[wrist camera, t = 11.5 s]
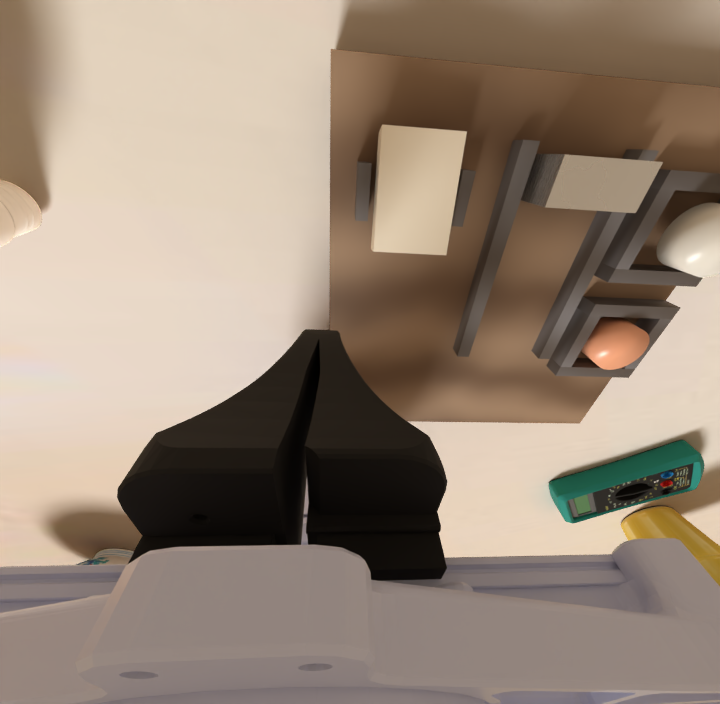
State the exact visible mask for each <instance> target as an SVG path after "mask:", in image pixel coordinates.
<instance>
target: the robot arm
mask: <svg viewBox="0 0 720 704" xmlns="http://www.w3.org/2000/svg"><path fill="white" fill-rule="evenodd" d="M446 486H447V479H446V475H445V471H444V468H443V465H442V463H441V460H440V458H439V456H438V454H437V451H436V449H435V447H434V445H433V443H432V441H431V439H430V437H429V436H428V435H427V434H425V433H423V432H422V431H420V430H419V429H417V428H416V427H414V426H413V425H411V424H410V423H408V422H407V421H406V420H404V419H403V418H402V417H400V416H399V415H398V414H397V413H395V412H394V411H393V410H392V409H391V408H390V407H388V406H387V405H386V404H385V403H384V402H383V401H382V400H381V399H380V398H379V397H378V396H377V395H376V394H375V393H374V392H373V390H372V389H371V388H370V387H369V386H368V385H367V383H366V382H365V381H364V380H363V378H362V377H361V375H360V374H359V373H358V371H357V369H356V368H355V366H354V365H353V363H352V361H351V360H350V358H349V356H348V354H347V352H346V350H345V348H344V345H343V343H342V340H341V337H340V333H339V332H338V331H336V330H304V331H303V332H302V334H301V335H300V336H299V337H298V339H297V340H296V341H295V342H294V344H293V345H292V346H291V347H290V348H289V349H288V350H287V352H286V353H285V354H284V355H283V356H282V357H281V358H280V359H279V360H278V361H277V362H276V363H275V364H274V365H273V366H272V367H271V368H270V369H269V370H268V371H266V372H265V373H264V374H263V375H262V376H261V377H259V378H258V379H257V380H256V381H254V382H253V383H252V384H250V385H249V386H247V387H246V388H244V389H243V390H241V391H240V392H238V393H237V394H235V395H233V396H232V397H230V398H229V399H227V400H225V401H224V402H222V403H220V404H218V405H217V406H215V407H213V408H211V409H209V410H207V411H205V412H203V413H201V414H199V415H197V416H195V417H193V418H191V419H188V420H186V421H184V422H182V423H179V424H177V425H175V426H172V427H170V428H168V429H165V430H163V431H160V432H158V433H156V434H155V435H154V437H153V438H152V439H151V440H150V442H149V443H148V444H147V446H146V447H145V448H144V450H143V451H142V453H141V454H140V456H139V457H138V459H137V460H136V462H135V463H134V465H133V466H132V468H131V469H130V471H129V472H128V474H127V475H126V477H125V479H124V480H123V482H122V483H121V485H120V486H119V488H118V494H117V498H118V500H119V502H120V504H121V507H122V509H123V510H124V512H125V513H126V514H127V516H128V517H129V518H130V520H131V521H132V522H133V524H134V525H135V526H136V528H137V529H138V530H139V532H140V533H141V534H142V538H141V540H140V541H139V543H138V545H137V547H136V549H135V551H134V553H133V555H132V557H131V559H130V560H129V562H128V564H111V565H62V566H12V567H0V704H720V586H719V585H718V584H717V583H716V581H715V580H714V579H713V578H712V577H711V576H710V574H709V573H708V572H707V571H706V570H705V569H704V567H703V566H702V565H701V564H700V563H699V562H698V560H697V559H696V558H695V557H694V556H693V555H692V553H691V552H690V551H689V550H688V549H687V548H686V546H685V545H684V544H683V543H682V542H681V541H680V540H678V539H676V538H650V539H633V540H630V541H626V542H624V543H622V544H620V545H619V546H618V547H617V548H616V549H615V550H614V551H613V552H612V554H609V555H559V556H509V557H459V558H445V557H444V553H443V549H442V545H441V541H440V537H439V533H438V532H440V530H441V525H440V521H439V517H438V513H437V510H438V508H439V506H440V503H441V501H442V498H443V496H444V493H445V491H446Z"/></svg>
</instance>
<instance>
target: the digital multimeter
mask: <svg viewBox="0 0 720 704" xmlns="http://www.w3.org/2000/svg"><path fill="white" fill-rule="evenodd" d="M703 471H704V461H703V458H702V456H701V454H700V453H699V452H698V451H696V450H695V449H694V448H693V447H692V446H691V445H689V444H688V443H687V442H686V441H685V440H679V441H676V442H673V443H670V444H667V445H664V446H661V447H658V448H655V449H652V450H649V451H646V452H643V453H640V454H637V455H634V456H631V457H628V458H625V459H621V460H618V461H615V462H612V463H609V464H605V465H602V466H599V467H596V468H592V469H589V470H586V471H582V472H579V473H575V474H572V475H569V476H565V477H562V478H559V479H556V480H552V481H550V483H549V489H550V494H551V497H552V499H553V501H554V503H555V505H556V506H557V508H558V510H559V511H560V513H561V515H562V516H563V518H564V520H565V521H566V522H570V523H577V522H580V521H583V520H587V519H590V518H593V517H596V516H600V515H603V514H606V513H610V512H613V511H617V510H620V509H624V508H627V507H631V506H634V505H638V504H642V503H646V502H649V501H653V500H657V499H661V498H665V497H668V496H672V495H676V494H680V493H684V492H688V491H692V490H694V489H696V488H697V486H698V484H699V482H700V480H701V477H702V474H703Z"/></svg>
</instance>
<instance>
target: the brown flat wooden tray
mask: <svg viewBox="0 0 720 704" xmlns="http://www.w3.org/2000/svg"><path fill="white" fill-rule="evenodd" d="M382 125H394V126H406V127H418V128H431V129H443V130H455V131H467V134H466V140H465V146H464V152H463V158H462V164H461V170H460V176H459V182H458V188H457V194H456V200H455V206H454V212H453V218H452V224H451V230H450V236H449V242H448V248H447V254H446V255H429V254H410V253H391V252H373V251H372V249H371V241H372V225H373V210H374V195H375V180H376V165H377V150H378V134H379V131H380V129H381V126H382ZM536 154H567V155H579V156H592V157H605V158H618V159H631V160H643V161H656V162H663V163H662V165H661V167H660V169H659V171H658V173H657V175H656V176H655V178H654V180H653V182H652V184H651V186H650V188H649V189H648V191H647V193H646V195H645V197H644V199H643V200H642V202H641V204H640V206H639V208H638V210H637V212H636V213H623V212H608V211H593V210H577V209H562V208H546V207H542V206H538V205H535V204H532V203H528V202H525V201H521V198H522V195H523V192H524V189H525V186H526V183H527V180H528V177H529V174H530V171H531V168H532V165H533V162H534V159H535V156H536ZM712 202H713V203H720V87H712V86H702V85H691V84H681V83H671V82H661V81H651V80H641V79H630V78H620V77H610V76H600V75H590V74H580V73H569V72H559V71H549V70H539V69H529V68H518V67H508V66H498V65H488V64H478V63H468V62H457V61H447V60H437V59H427V58H417V57H406V56H396V55H386V54H376V53H366V52H356V51H345V50H335V49H331V129H330V330H336V331H338V332H339V333H340V337H341V340H342V343H343V345H344V348H345V350H346V352H347V354H348V356H349V358H350V360H351V361H352V363H353V365H354V366H355V368H356V369H357V371H358V373H359V374H360V375H361V377H362V378H363V380H364V381H365V382H366V383H367V385H368V386H369V387H370V388H371V389H372V390H373V392H374V393H375V394H376V395H377V396H378V397H379V398H380V399H381V400H382V401H383V402H384V403H385V404H386V405H387V406H388V407H390V408H391V409H392V410H393V411H394V412H395V413H397V414H398V415H399V416H400V417H402V418H403V419H404V420H406V421H430V422H511V423H580V422H581V421H582V419H583V418H584V416H585V415H586V413H587V412H588V411H589V409H590V408H591V406H592V405H593V403H594V402H595V401H596V399H597V398H598V396H599V395H600V394H601V392H602V391H603V389H604V388H605V386H606V385H607V384H608V382H609V381H610V379H611V378H612V377H627V378H629V376H630V375H631V374H632V372H633V371H634V370H635V368H636V367H637V366H638V364H639V363H640V362H641V360H642V359H643V358H644V356H645V355H646V354H647V352H648V351H649V349H650V348H651V347H652V345H653V344H654V343H655V341H656V340H657V339H658V337H659V336H660V335H661V333H662V332H663V331H664V329H665V328H666V327H667V325H668V324H669V323H670V321H671V320H672V319H673V317H674V316H675V314H676V313H677V312H678V310H679V309H680V307H677V306H675V305H673V304H671V303H669V302H667V301H666V299H667V298H668V297H669V295H670V294H671V292H672V291H673V289H674V288H675V287H676V286H695V287H696V286H697V285H698V284H699V282H700V281H701V279H702V278H701V277H697V276H694V275H691V274H688V273H686V272H683V271H680V270H677V269H675V268H672V267H669V266H666V265H664V264H662V263H661V262H660V261H659V260H658V258H657V245H658V242H659V240H660V238H661V236H662V234H663V233H664V231H665V230H666V229H667V227H668V226H669V225H670V224H671V223H672V222H673V221H674V220H675V219H676V218H677V217H678V216H680V215H681V214H682V213H684V212H685V211H687V210H689V209H690V208H692V207H694V206H697V205H700V204H703V203H712ZM603 317H622V318H624V319H626V320H627V321H629V322H631V323H632V324H634V325H636V326H637V327H639V328H640V329H642V330H644V331H645V332H647V334H648V335H649V345H648V347H647V349H646V350H645V352H644V353H643V354H642V355H641V356H640V357H639V358H638V359H637V360H635V361H634V362H632V363H631V364H629V365H627V366H624V367H622V368H619V369H614V370H606V369H602V368H600V367H599V366H598V365H596V364H595V363H594V362H593V361H592V360H591V359H589V358H588V357H587V356H586V355H585V354H584V353H582V352H581V350H582V348H583V347H584V345H585V343H586V342H587V340H588V338H589V336H590V335H591V333H592V331H593V330H594V328H595V326H596V324H597V323H598V321H599V319H600V318H603Z"/></svg>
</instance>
